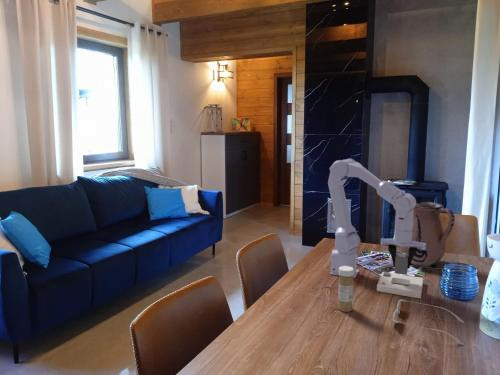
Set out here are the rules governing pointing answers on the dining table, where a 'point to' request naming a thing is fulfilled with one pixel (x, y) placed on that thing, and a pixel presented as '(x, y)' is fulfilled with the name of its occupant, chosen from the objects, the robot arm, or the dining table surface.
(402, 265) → the plug
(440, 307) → the eyeglasses
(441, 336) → the dining table surface
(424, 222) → the ceramic pitcher
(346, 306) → the sprinkles bottle
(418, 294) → the socket plate
